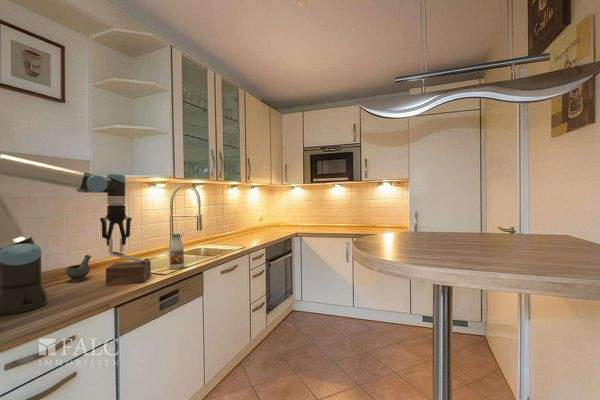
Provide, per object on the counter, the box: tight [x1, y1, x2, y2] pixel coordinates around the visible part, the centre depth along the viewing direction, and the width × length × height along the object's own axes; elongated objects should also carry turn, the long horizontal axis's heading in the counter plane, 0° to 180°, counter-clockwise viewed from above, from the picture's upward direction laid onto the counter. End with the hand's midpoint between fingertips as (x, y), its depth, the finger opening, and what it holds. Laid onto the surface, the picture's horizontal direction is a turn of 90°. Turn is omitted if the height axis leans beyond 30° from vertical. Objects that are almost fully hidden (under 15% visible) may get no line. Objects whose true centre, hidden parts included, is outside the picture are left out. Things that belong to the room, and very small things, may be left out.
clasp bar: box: [109, 251, 147, 263], centre depth 143 cm, size 4×17×2 cm, turn 105°
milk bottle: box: [168, 233, 185, 270], centre depth 168 cm, size 8×8×20 cm
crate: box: [105, 258, 152, 287], centre depth 143 cm, size 14×17×10 cm
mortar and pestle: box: [65, 254, 92, 283], centre depth 145 cm, size 11×9×12 cm
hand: (116, 251), depth 142 cm, fingers open, 4 cm apart
